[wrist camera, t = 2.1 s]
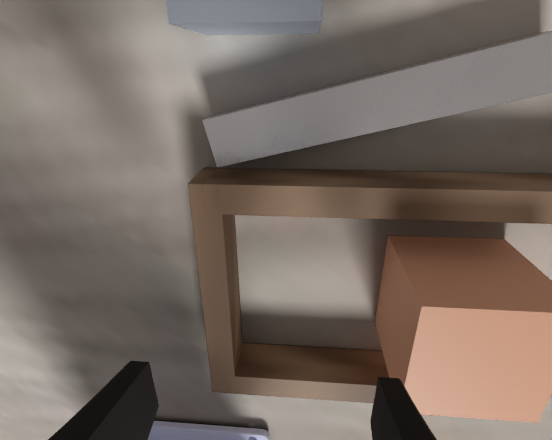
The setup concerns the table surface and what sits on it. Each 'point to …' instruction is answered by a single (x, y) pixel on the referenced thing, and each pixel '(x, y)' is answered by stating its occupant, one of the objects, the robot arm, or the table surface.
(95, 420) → the robot arm
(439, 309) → the cube
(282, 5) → the slate block
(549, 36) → the steel bar
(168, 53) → the table surface
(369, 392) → the bay
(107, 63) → the table surface
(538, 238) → the table surface
